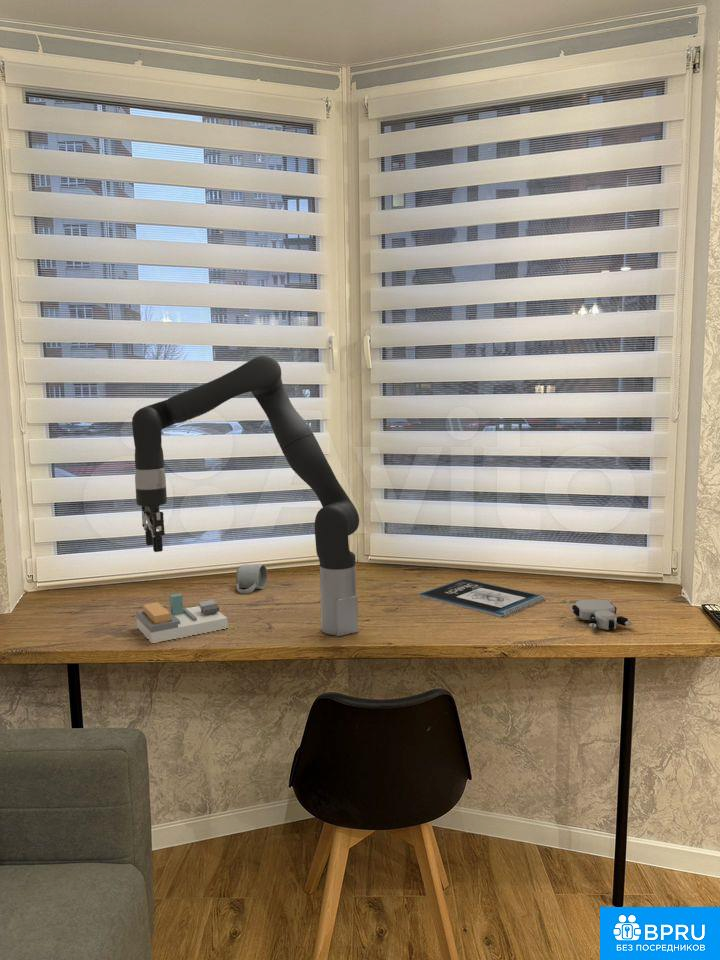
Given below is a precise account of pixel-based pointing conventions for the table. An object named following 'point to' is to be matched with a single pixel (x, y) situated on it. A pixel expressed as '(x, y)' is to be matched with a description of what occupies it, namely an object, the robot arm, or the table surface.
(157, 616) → the paddle button
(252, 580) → the ceramic mug
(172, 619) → the switch panel
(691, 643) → the table surface
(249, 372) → the robot arm
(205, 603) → the rocker switch
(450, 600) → the sketchbook
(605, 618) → the robot toy
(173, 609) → the slide switch
